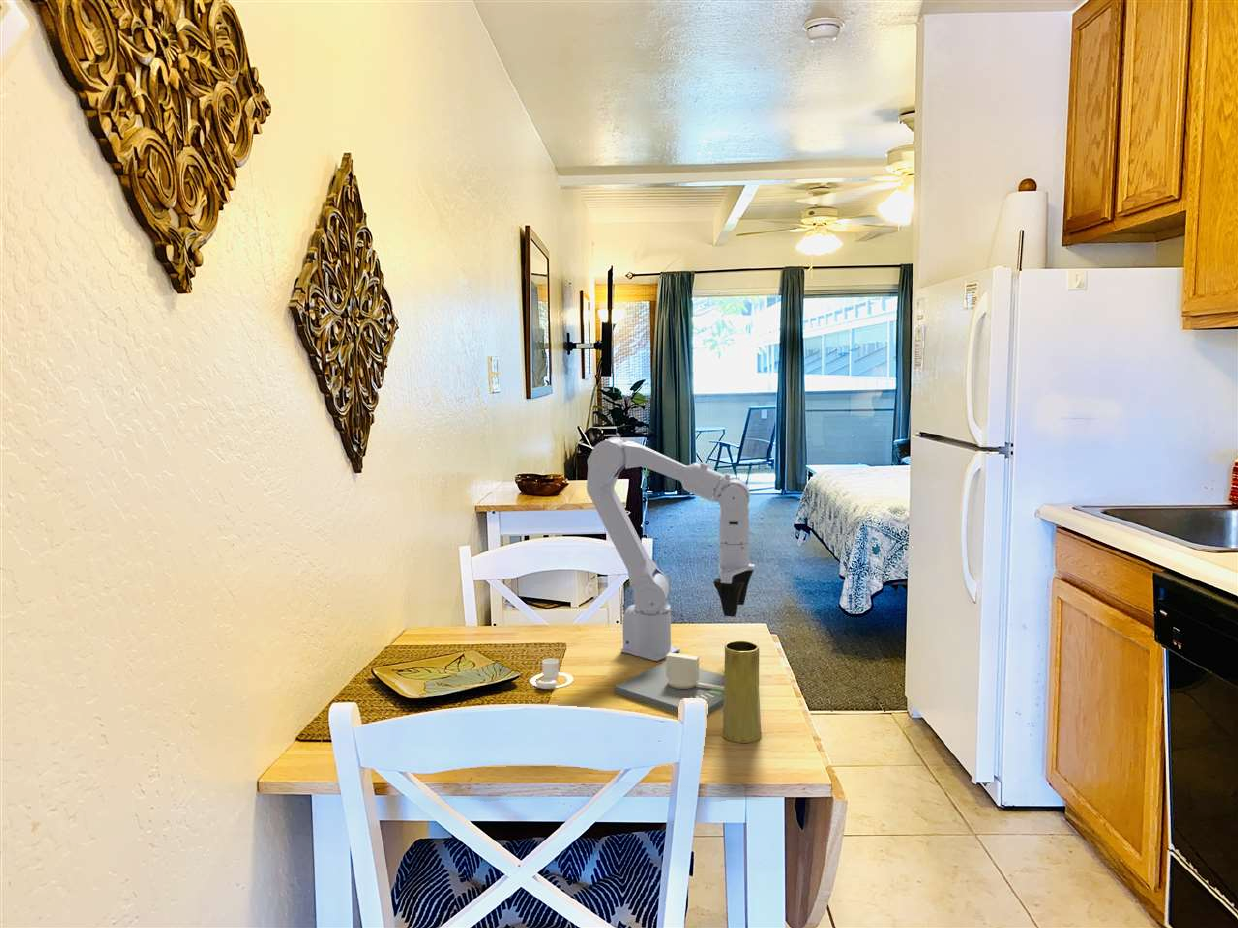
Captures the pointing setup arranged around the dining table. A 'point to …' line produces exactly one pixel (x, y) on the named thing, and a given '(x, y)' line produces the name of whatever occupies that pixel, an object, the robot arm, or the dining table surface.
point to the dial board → (671, 689)
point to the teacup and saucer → (550, 675)
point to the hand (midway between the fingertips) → (734, 609)
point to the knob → (684, 672)
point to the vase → (741, 692)
